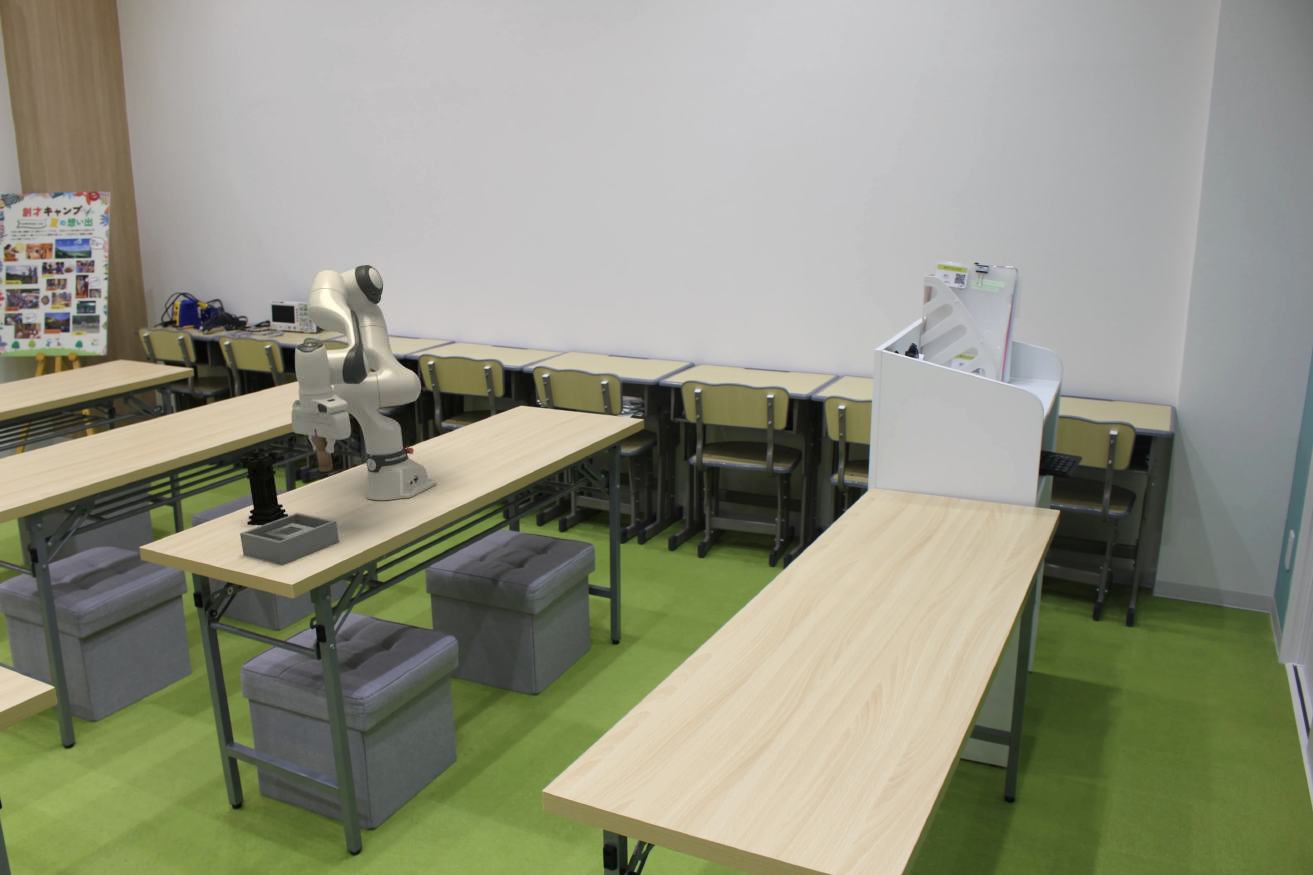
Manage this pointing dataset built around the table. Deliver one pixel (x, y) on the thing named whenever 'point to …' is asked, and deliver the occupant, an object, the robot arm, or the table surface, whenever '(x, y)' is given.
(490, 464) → the table surface
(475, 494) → the table surface
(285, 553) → the open box
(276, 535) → the grey square frame
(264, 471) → the chess piece
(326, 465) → the peg
